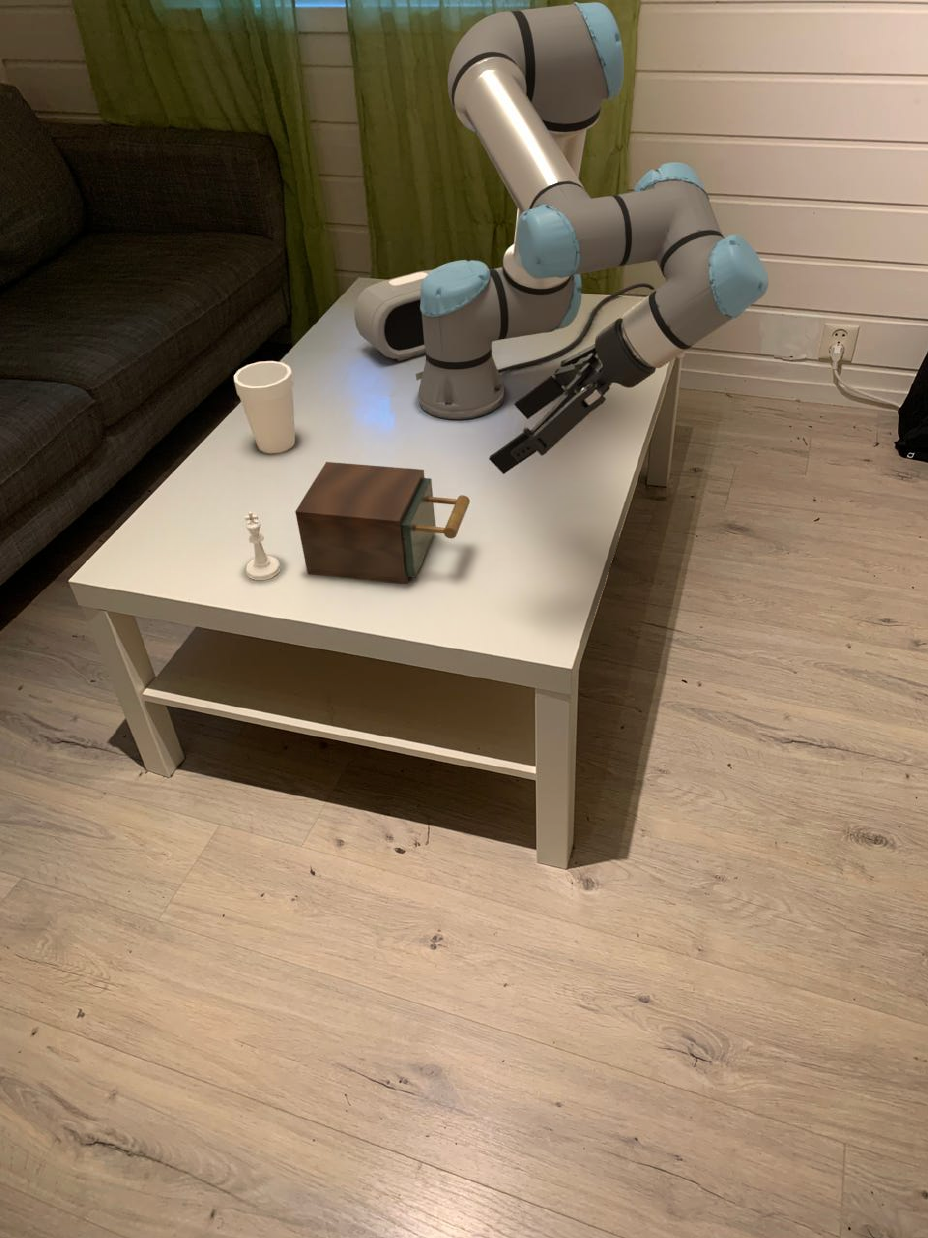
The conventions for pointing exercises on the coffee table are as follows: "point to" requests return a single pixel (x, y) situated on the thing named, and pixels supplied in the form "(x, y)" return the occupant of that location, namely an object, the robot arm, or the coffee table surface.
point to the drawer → (427, 524)
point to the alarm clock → (393, 316)
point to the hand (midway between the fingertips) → (509, 437)
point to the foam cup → (268, 404)
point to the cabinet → (357, 521)
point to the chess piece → (259, 554)
